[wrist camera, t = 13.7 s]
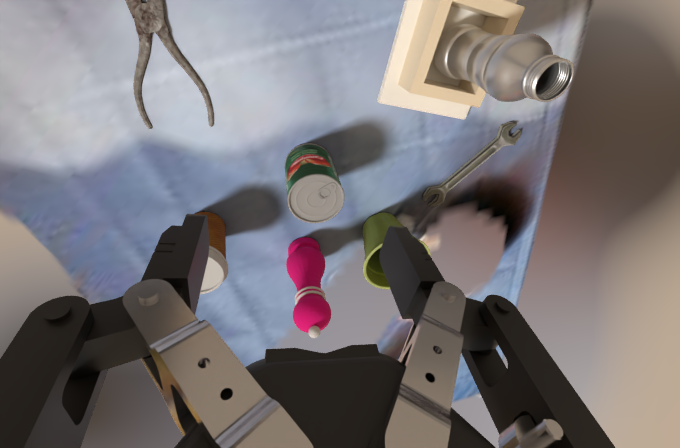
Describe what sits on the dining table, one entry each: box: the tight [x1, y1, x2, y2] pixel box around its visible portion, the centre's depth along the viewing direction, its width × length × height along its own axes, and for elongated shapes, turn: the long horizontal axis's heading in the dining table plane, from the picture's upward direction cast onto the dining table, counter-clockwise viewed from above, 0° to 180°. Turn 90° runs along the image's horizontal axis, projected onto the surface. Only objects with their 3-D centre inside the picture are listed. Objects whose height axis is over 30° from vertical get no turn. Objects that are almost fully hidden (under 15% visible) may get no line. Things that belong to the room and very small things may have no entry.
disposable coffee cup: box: [195, 212, 228, 294], centre depth 50 cm, size 10×10×12 cm
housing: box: [377, 0, 525, 120], centre depth 42 cm, size 18×15×6 cm
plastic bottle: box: [434, 24, 574, 102], centre depth 36 cm, size 6×7×20 cm
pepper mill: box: [286, 237, 331, 338], centre depth 54 cm, size 7×7×20 cm
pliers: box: [125, 0, 213, 129], centre depth 39 cm, size 10×1×20 cm
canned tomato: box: [285, 143, 344, 223], centre depth 47 cm, size 8×8×11 cm
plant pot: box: [363, 212, 430, 289], centre depth 57 cm, size 12×12×11 cm
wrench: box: [423, 122, 521, 206], centre depth 57 cm, size 5×20×1 cm, turn 135°
